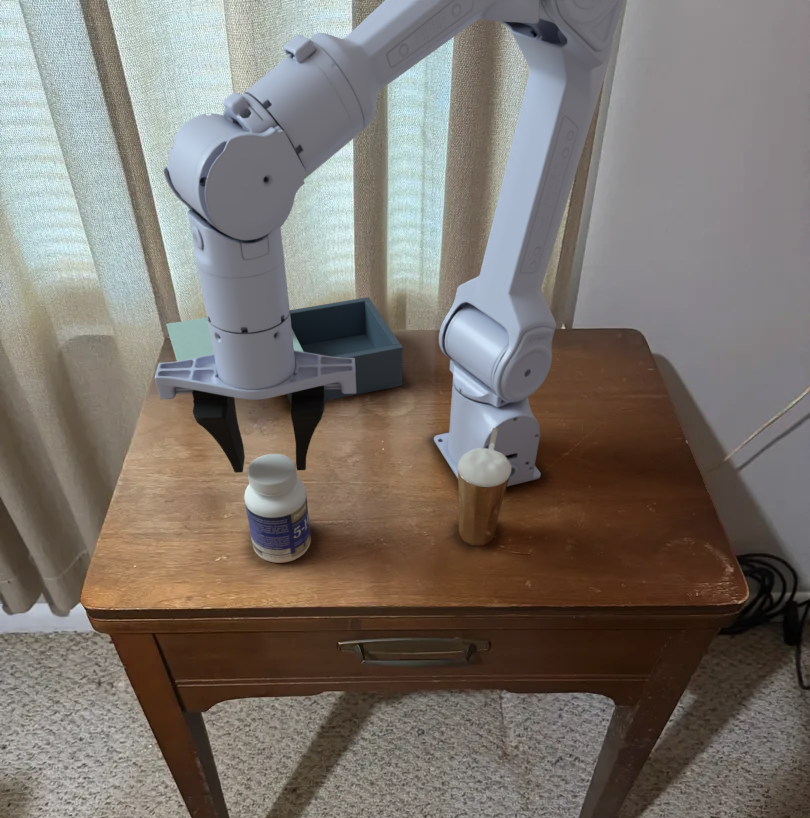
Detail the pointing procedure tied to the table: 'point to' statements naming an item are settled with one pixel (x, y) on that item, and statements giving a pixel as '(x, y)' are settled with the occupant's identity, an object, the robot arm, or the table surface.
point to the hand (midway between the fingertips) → (270, 463)
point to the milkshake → (481, 492)
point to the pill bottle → (277, 509)
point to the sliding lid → (197, 339)
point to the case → (351, 342)
